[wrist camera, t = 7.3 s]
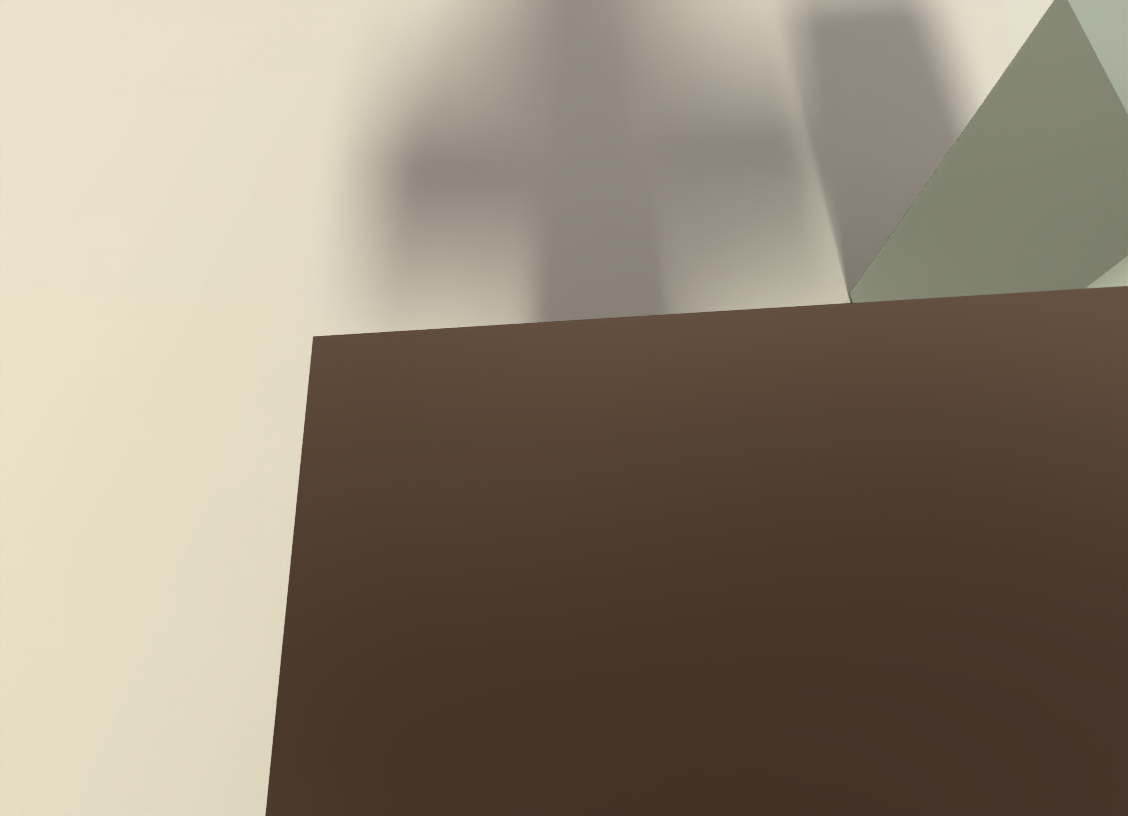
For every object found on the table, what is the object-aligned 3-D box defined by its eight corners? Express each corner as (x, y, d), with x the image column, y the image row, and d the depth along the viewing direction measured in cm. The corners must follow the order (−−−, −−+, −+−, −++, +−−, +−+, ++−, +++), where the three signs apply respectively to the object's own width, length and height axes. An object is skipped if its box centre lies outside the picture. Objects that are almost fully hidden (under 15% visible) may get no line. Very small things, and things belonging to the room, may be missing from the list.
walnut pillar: (816, 879, 13) (2290, 2116, 2) (519, 897, 13) (127, 2226, 2) (765, 576, 16) (1276, 276, 4) (511, 591, 16) (313, 337, 4)
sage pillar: (1057, 422, 24) (1504, 185, 12) (891, 437, 24) (1180, 215, 12) (1002, 279, 26) (1336, -36, 14) (850, 293, 26) (1061, -12, 14)
